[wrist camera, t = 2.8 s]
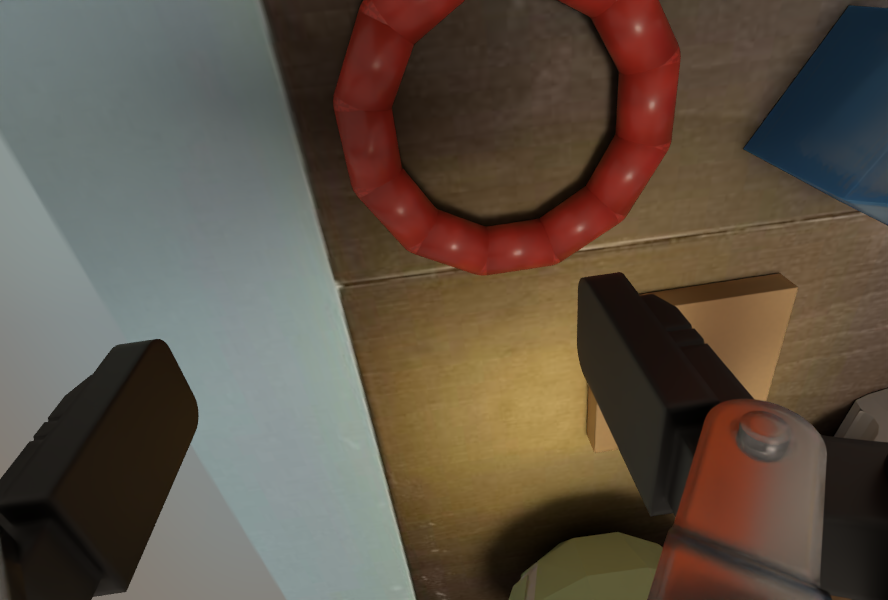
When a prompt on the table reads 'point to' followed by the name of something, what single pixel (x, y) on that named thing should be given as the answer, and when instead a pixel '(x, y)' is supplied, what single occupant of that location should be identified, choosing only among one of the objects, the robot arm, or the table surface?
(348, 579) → the table surface
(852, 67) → the perfume bottle
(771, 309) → the peg stand
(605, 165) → the ring
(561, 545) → the tennis ball
